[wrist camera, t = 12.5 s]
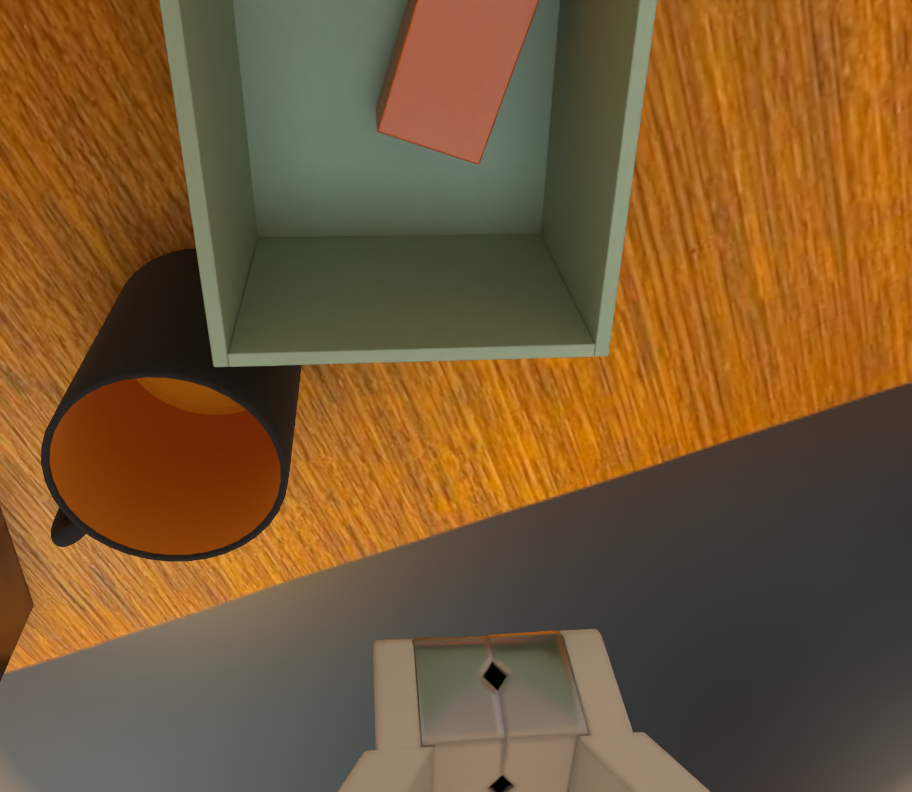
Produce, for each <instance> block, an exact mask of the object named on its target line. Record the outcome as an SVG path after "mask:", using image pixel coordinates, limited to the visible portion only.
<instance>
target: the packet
mask: <svg viewBox="0 0 912 792" xmlns="http://www.w3.org/2000/svg"><path fill="white" fill-rule="evenodd" d="M539 1H540V0H408V3H407V6H406V9H405V13H404V16H403V20H402V23H401V26H400V30H399V33H398V36H397V40H396V43H395V47H394V50H393V53H392V57H391V60H390V63H389V67H388V70H387V74H386V77H385V80H384V84H383V87H382V90H381V94H380V97H379V100H378V104H377V107H376V122H377V131H378V132H379V133H382V134H385V135H388V136H391V137H394V138H397V139H400V140H403V141H406V142H410V143H413V144H416V145H419V146H422V147H425V148H428V149H431V150H434V151H437V152H440V153H443V154H446V155H449V156H452V157H455V158H458V159H461V160H464V161H467V162H471V163H474V164H477V165H478V164H479V163H480V161H481V158H482V156H483V153H484V150H485V147H486V145H487V142H488V139H489V136H490V134H491V131H492V128H493V126H494V123H495V120H496V117H497V115H498V112H499V109H500V107H501V104H502V101H503V98H504V96H505V93H506V90H507V88H508V85H509V82H510V79H511V77H512V74H513V71H514V69H515V66H516V63H517V60H518V58H519V55H520V52H521V49H522V47H523V44H524V41H525V39H526V36H527V33H528V30H529V28H530V25H531V22H532V20H533V17H534V14H535V11H536V9H537V6H538V3H539Z"/></svg>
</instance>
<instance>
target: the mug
mask: <svg viewBox="0 0 912 792" xmlns="http://www.w3.org/2000/svg"><path fill="white" fill-rule="evenodd" d="M300 373H301V365H279V366H243V367H230V366H228V367H214V366H213V360H212V354H211V347H210V340H209V333H208V327H207V320H206V313H205V306H204V300H203V293H202V286H201V279H200V273H199V266H198V259H197V252H196V249H192V250H184V251H177V252H174V253H170V254H167V255H164V256H161V257H159V258H157V259H155V260H153V261H151V262H149V263H147V264H146V265H145V266H143V267H142V268H141V269H140V270H138V271H137V272H136V273H135V274H134V275H133V276H132V277H131V278H130V279H129V281H128V282H127V283H126V284H125V286H124V287H123V289H122V291H121V293H120V295H119V296H118V298H117V300H116V302H115V304H114V306H113V307H112V309H111V311H110V313H109V315H108V316H107V318H106V320H105V322H104V324H103V326H102V327H101V329H100V331H99V333H98V335H97V336H96V338H95V340H94V342H93V344H92V346H91V347H90V349H89V351H88V353H87V355H86V356H85V358H84V360H83V362H82V364H81V366H80V367H79V369H78V371H77V373H76V375H75V377H74V378H73V380H72V382H71V384H70V386H69V388H68V389H67V391H66V393H65V395H64V397H63V399H62V400H61V402H60V404H59V406H58V408H57V410H56V412H55V414H54V416H53V417H52V419H51V421H50V423H49V425H48V427H47V429H46V431H45V435H44V439H43V443H42V449H41V465H42V469H43V474H44V478H45V482H46V484H47V486H48V489H49V491H50V493H51V495H52V497H53V499H54V500H55V502H56V503H57V505H58V506H59V510H58V512H57V514H56V516H55V519H54V521H53V524H52V528H51V538H52V541H53V542H54V544H55V545H57V546H60V547H66V546H69V545H72V544H74V543H75V542H77V541H78V540H80V539H81V538H82V537H83V536H84V535H85V534H86V533H87V534H88V535H89V536H91V537H92V538H94V539H96V540H98V541H100V542H101V543H103V544H105V545H107V546H109V547H111V548H114V549H116V550H119V551H121V552H124V553H127V554H130V555H134V556H138V557H142V558H146V559H152V560H161V561H193V560H200V559H207V558H211V557H215V556H218V555H222V554H225V553H228V552H230V551H232V550H234V549H237V548H239V547H241V546H243V545H244V544H246V543H247V542H249V541H251V540H252V539H254V538H255V537H257V536H258V535H259V534H260V533H261V532H262V531H263V530H264V529H265V528H266V527H267V526H268V525H269V524H270V523H271V521H272V520H273V519H274V517H275V516H276V515H277V513H278V512H279V509H280V507H281V505H282V503H283V500H284V498H285V494H286V489H287V484H288V478H289V470H290V462H291V453H292V445H293V436H294V427H295V418H296V409H297V400H298V391H299V382H300Z"/></svg>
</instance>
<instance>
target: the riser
mask: <svg viewBox="0 0 912 792" xmlns="http://www.w3.org/2000/svg"><path fill="white" fill-rule="evenodd" d="M32 608H33V604H32V601H31V598H30V595H29V592H28V589H27V586H26V583H25V580H24V577H23V574H22V571H21V568H20V565H19V562H18V559H17V556H16V553H15V550H14V547H13V545H12V542H11V539H10V536H9V533H8V530H7V527H6V524H5V521H4V518H3V515H2V512H1V509H0V681H1V679H2V676H3V674H4V672H5V669H6V667H7V665H8V663H9V660H10V658H11V656H12V653H13V651H14V649H15V647H16V644H17V642H18V640H19V637H20V635H21V633H22V630H23V628H24V626H25V624H26V621H27V619H28V617H29V614H30V612H31V610H32Z"/></svg>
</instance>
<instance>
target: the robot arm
mask: <svg viewBox="0 0 912 792" xmlns="http://www.w3.org/2000/svg"><path fill="white" fill-rule="evenodd" d="M374 691H375V731H376V750H370V751H364V753H363V754H362V756H361V757H360V759H359V760H358V762H357V763H356V765H355V766H354V768H353V770H352V771H351V773H350V774H349V775H348V777H347V779H346V780H345V782H344V783H343V785H342V786H341V788H340V789H339V791H338V792H710V791H709V790H708V789H707V788H706V787H704V786H703V785H702V784H701V783H700V782H699V781H698V780H697V779H696V778H694V777H693V776H692V775H691V774H690V773H689V772H688V771H687V770H685V769H684V768H683V767H682V766H681V765H680V764H679V763H678V762H677V761H676V760H674V759H673V758H672V757H671V756H670V755H669V754H668V753H667V752H666V751H664V750H663V749H662V748H661V747H660V746H659V745H658V744H656V742H654V741H653V740H652V739H651V738H650V737H649V736H648V735H647V734H645V733H644V732H635V733H634V732H633V731H632V728H631V725H630V722H629V719H628V716H627V713H626V710H625V707H624V704H623V701H622V698H621V695H620V692H619V688H618V685H617V682H616V679H615V676H614V673H613V670H612V667H611V664H610V661H609V658H608V655H607V652H606V649H605V645H604V643H603V639H602V636H601V634H600V633H599V632H598V631H597V630H596V629H586V630H569V631H568V630H567V631H559V632H558V631H544V632H530V633H516V634H515V633H514V634H499V635H486V636H485V637H452V638H419V639H418V638H417V639H413V641H412V639H400V640H375V642H374Z"/></svg>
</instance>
